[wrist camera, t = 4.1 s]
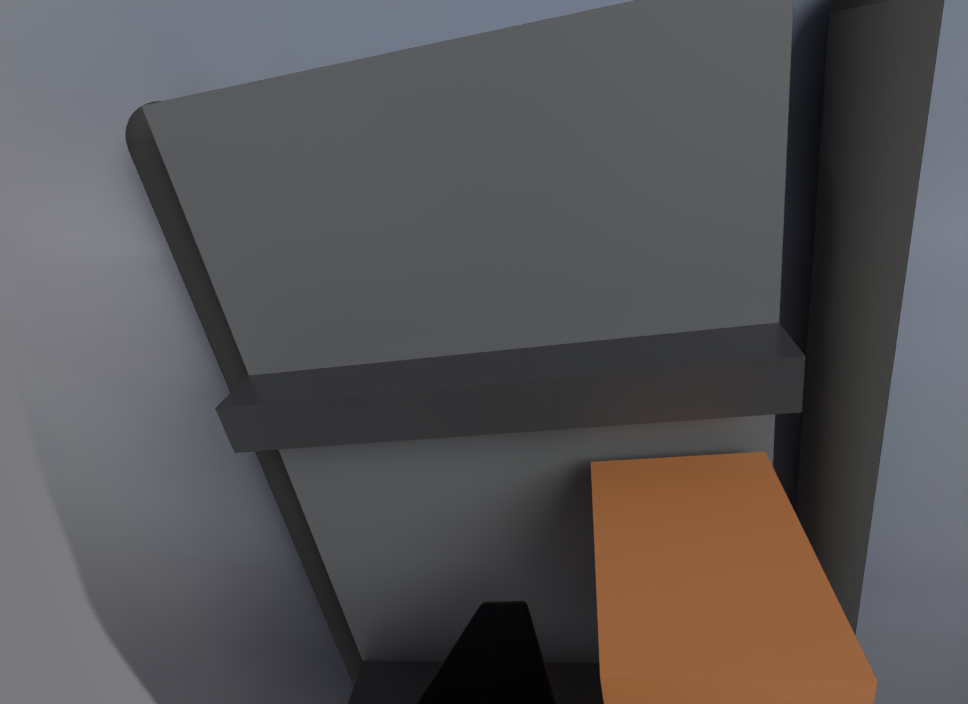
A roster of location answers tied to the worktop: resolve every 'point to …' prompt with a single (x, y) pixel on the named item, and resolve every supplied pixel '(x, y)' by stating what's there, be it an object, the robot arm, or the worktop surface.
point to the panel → (496, 299)
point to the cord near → (860, 267)
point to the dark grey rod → (233, 368)
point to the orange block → (714, 589)
